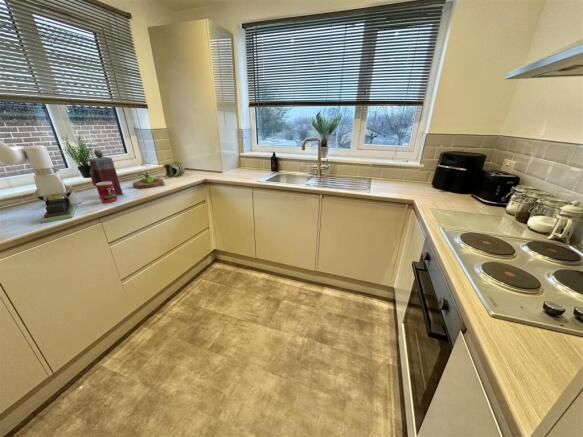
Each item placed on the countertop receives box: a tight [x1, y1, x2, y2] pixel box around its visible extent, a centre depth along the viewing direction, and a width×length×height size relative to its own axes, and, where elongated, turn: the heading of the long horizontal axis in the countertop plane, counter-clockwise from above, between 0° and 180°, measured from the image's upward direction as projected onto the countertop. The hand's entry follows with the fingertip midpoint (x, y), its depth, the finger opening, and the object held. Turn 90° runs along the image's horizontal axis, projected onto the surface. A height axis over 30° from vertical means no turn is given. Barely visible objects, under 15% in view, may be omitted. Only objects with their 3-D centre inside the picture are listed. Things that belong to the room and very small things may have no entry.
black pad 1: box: [48, 197, 69, 209], centre depth 123 cm, size 6×6×4 cm
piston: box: [163, 161, 186, 179], centre depth 201 cm, size 11×12×11 cm
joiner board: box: [40, 204, 78, 224], centre depth 121 cm, size 11×22×3 cm, turn 35°
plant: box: [132, 169, 165, 190], centre depth 174 cm, size 20×20×11 cm
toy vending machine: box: [88, 149, 124, 197], centre depth 147 cm, size 9×11×28 cm
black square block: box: [45, 203, 67, 214], centre depth 118 cm, size 6×6×4 cm
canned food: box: [95, 181, 118, 204], centre depth 138 cm, size 8×8×11 cm
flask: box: [65, 185, 83, 205], centre depth 137 cm, size 7×7×10 cm
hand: (59, 206), depth 123 cm, fingers closed on black pad 1, 6 cm apart
